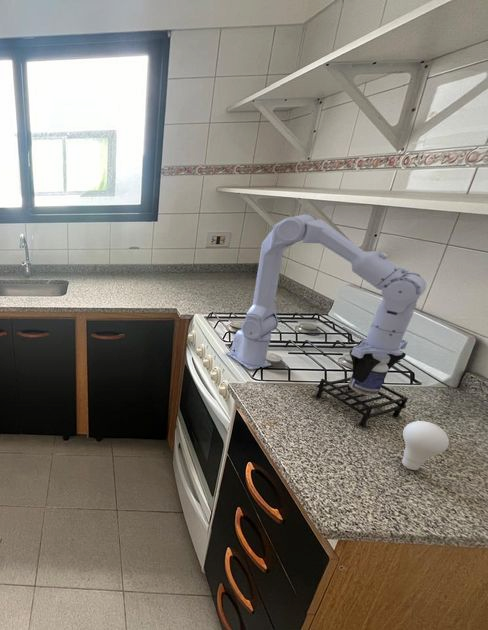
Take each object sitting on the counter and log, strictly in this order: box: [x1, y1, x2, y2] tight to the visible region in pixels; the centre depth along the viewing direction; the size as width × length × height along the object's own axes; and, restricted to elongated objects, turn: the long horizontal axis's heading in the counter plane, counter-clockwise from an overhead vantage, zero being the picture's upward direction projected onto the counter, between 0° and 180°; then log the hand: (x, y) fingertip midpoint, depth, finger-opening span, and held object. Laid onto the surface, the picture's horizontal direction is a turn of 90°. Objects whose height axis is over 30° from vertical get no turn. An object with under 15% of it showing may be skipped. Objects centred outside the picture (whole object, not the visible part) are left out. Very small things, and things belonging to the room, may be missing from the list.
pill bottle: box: [348, 354, 390, 397], centre depth 82 cm, size 6×6×10 cm
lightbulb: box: [401, 420, 450, 471], centre depth 67 cm, size 6×6×11 cm
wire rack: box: [315, 376, 409, 428], centre depth 85 cm, size 13×12×6 cm
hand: (367, 377), depth 83 cm, fingers closed on pill bottle, 5 cm apart
